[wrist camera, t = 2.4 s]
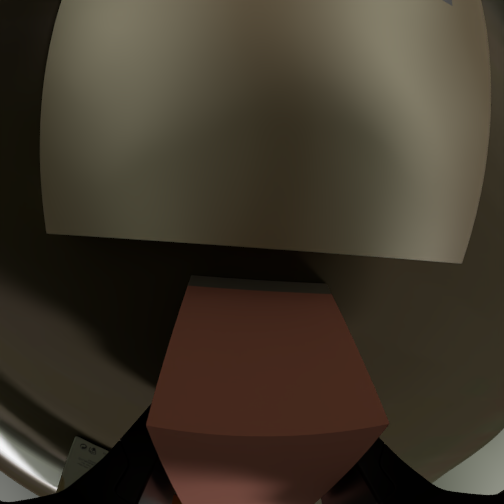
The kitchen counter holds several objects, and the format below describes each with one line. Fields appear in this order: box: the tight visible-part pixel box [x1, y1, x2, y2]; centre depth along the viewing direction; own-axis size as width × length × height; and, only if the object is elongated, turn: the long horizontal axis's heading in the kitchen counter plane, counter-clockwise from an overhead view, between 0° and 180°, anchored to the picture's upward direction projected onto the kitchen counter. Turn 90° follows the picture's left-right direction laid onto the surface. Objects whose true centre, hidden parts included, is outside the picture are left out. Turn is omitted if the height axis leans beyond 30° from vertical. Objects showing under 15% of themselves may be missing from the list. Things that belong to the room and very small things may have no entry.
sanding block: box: [146, 275, 389, 504], centre depth 7 cm, size 4×7×5 cm, turn 175°
